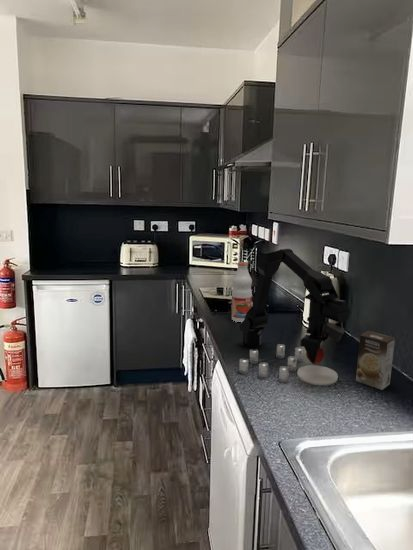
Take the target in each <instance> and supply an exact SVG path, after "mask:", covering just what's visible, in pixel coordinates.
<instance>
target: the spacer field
mask: <svg viewBox="0 0 413 550" xmlns="http://www.w3.org/2000/svg"><path fill="white" fill-rule="evenodd" d="M285 349H286V345H285V344H282V343H278V344H276V352H275V353H276V354H275V355H276V356H275V357H276V358H277V359H280V360H281V359H285V353H286V352H285ZM294 350H295V351H294V356H293V355H290V356H287V366H285V365H283V366H279V368H278V369H279V374H278V382H279V383H281V384H287V383H289V374H290V373H295V372H296V371H297V363H302V362H304V351H305V348H304V347H301V346H299V347H295V348H294ZM258 362H259V350H258V349H257V348H251V349H249V358H245V357H242V358H240V359H239V367H238V368H239V370H238V371H239V372H240V373H241V375H248V374H249V364H251V365H257V364H258V378H260V379H268V378H269V363H268V362H264V361H261V362H259V363H258ZM240 373H239V374H240ZM247 373H248V374H247Z"/></svg>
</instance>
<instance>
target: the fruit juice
mask: <svg viewBox="0 0 413 550" xmlns="http://www.w3.org/2000/svg"><path fill="white" fill-rule="evenodd" d="M248 267H249V263H248V262H247V261H238V262H237V269H236V273H235V275H234V276H233V277H232V286H233V288H232V290H231V321H232V320H233V321H232V322H234V321H235V322H234V323H237V322H241V323H242V322H243V321H244V319H245V316H246V314H247V312H248V311H249V309H250V308H251V307H252V305H253V298H252V297H253V291H252V284H253V279H252V277H251V275H250V273H249V269H248ZM241 323H240V324H241Z"/></svg>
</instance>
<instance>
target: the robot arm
mask: <svg viewBox="0 0 413 550" xmlns="http://www.w3.org/2000/svg"><path fill="white" fill-rule="evenodd" d="M256 263H257V264H256V267H257V271H258V273H259V274H258V279H257V283H256V288H255V292H254V297H253V300H252V307H251V308H250V309H249V311H248V312H247V314H246V316H245V319H244V321H243V322H242V323H239V325H238V326H239V330H240V332H242V343H241V346H242V347H246V348H251V349H257V348H259V346H261V345H262V338H263V337H262V335H263V334H262V333H261V332H262V331H264V330H265V327H266V326H267V324H268V319H269V318H270V316H269V314H268V313H267V311H266V305H267V303H268V302H267V301H268V298H269V292H270V289H271V286H272V285H271V284H272V280H273V276H274V275H275V274H276V272H277V271H279V268H280V266H281V264H282V263H283V264H284V265H286V267H287V268H289V269H290V270H291V271H292V272H293V273H294V274H295V275H296V276H298V278H300V279H301V280H302V282H303V286H304V288H305V289H306V290H307V292H308V294H306V295H305V296H304V298H305V299H306V300H309V309H308V316H307V318H306V322H307V323H308V325H307V329H306V332H305V333H306V334H305V335H304V336H303V337H302V338H301V339H300V342H299V347H301V348H303V349H304V351H306V352H307V354H308V357H309V359H310V361H311V362H310V361H309V362H310V363H311V364H312V363H315V359H316V355H317V351H318V349H320V348H322V349H323V346H324V342H325V341H326V340H328V339H329V338H331V339H333V340H334V341H336V342H340V340H341V339H342V336H343V335H344V333H345V327H344V325H343V324H344V323H346V322H347V321H348V320H349V318H350V315H351V310H350V307H349V305H347V301H346V300H344V299H339V298H340V297H339V294H338V292H337V290H336V288H335V286H334V283H333V280H332V278H331V277H330V276H328V275H326V274H325V273H322V272H319V271H316V270H315V269H313V268H312V267H311V266H309V265H308V264H307V263H306V262H305V261H304V260H303V259H301V258H300V256H298V255H297V254H296V253H294V251H293V250H292V249H291V248H280V249H279V250H275V251H265V252H263V251H262V252H260V253H259V254H258V256H257V261H256ZM330 320H332V321H335V322H330Z"/></svg>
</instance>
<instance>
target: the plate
mask: <svg viewBox="0 0 413 550" xmlns="http://www.w3.org/2000/svg"><path fill="white" fill-rule="evenodd" d="M296 375H297V378H298V379H299V380H301V381H302V382H304V383H306V384H309V385H313V386H314V385H315V386H322V387H323V386H331V385H334V384H336V383H337V381H338V377H339V375H338V373H337V372H336V371H335V370H334V369H332V368H331V367H330V368H329V367H326V366H323V365H318V364H316V365H313V364H312V365H311V364H310V365H304V366H301V367H299V368H298V369H297V374H296Z"/></svg>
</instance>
